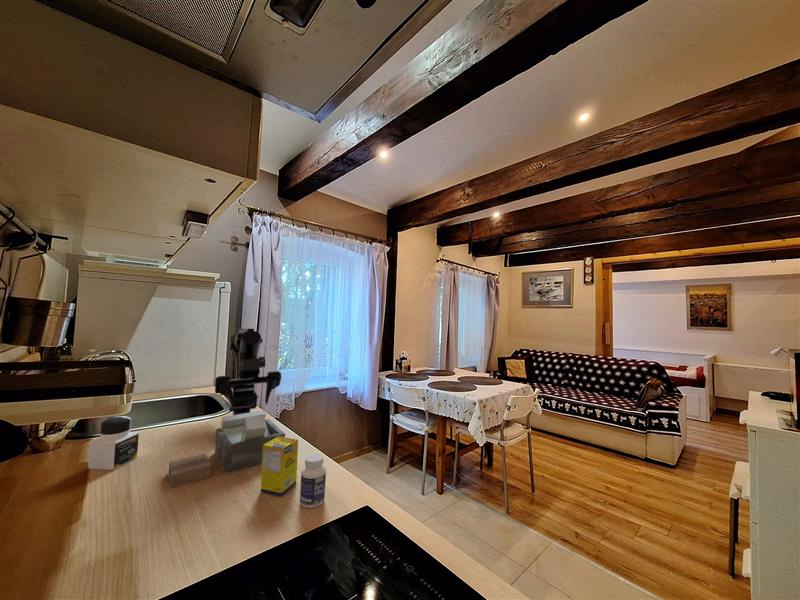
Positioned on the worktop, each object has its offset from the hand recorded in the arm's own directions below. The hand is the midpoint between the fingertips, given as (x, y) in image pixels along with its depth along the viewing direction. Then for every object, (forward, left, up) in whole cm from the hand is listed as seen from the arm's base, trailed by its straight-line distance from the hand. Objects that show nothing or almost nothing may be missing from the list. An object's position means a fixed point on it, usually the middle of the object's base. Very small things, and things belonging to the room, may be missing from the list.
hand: (250, 405), depth 94 cm
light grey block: (+4, 0, -10) cm, 11 cm away
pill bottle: (+35, +5, -14) cm, 38 cm away
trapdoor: (+1, 0, -9) cm, 9 cm away
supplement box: (+25, +1, -14) cm, 28 cm away
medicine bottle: (-13, -30, -14) cm, 36 cm away
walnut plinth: (+6, -15, -13) cm, 21 cm away
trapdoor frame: (+3, 0, -13) cm, 14 cm away
